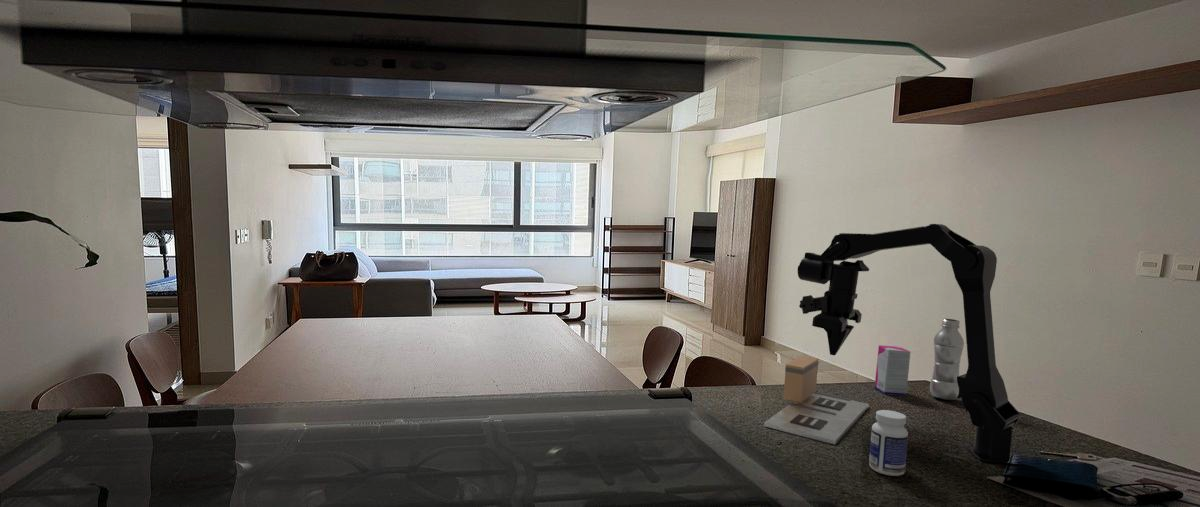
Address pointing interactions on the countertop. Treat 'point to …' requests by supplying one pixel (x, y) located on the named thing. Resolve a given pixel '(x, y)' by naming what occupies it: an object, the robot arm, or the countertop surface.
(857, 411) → the label panel
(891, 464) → the pill bottle
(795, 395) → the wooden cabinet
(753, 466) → the countertop surface
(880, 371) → the supplement box
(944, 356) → the plastic bottle
